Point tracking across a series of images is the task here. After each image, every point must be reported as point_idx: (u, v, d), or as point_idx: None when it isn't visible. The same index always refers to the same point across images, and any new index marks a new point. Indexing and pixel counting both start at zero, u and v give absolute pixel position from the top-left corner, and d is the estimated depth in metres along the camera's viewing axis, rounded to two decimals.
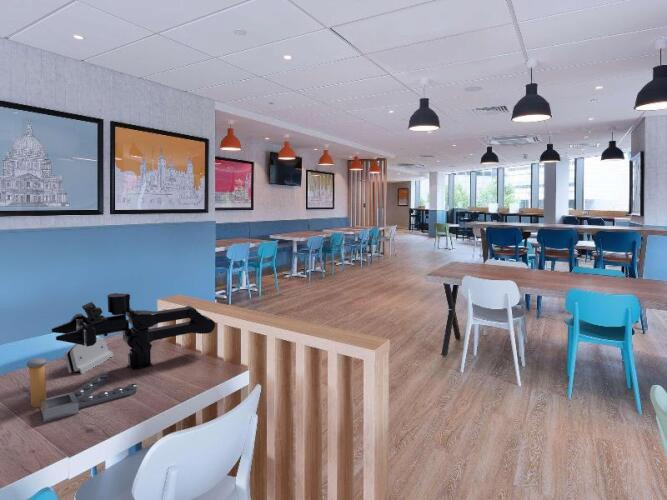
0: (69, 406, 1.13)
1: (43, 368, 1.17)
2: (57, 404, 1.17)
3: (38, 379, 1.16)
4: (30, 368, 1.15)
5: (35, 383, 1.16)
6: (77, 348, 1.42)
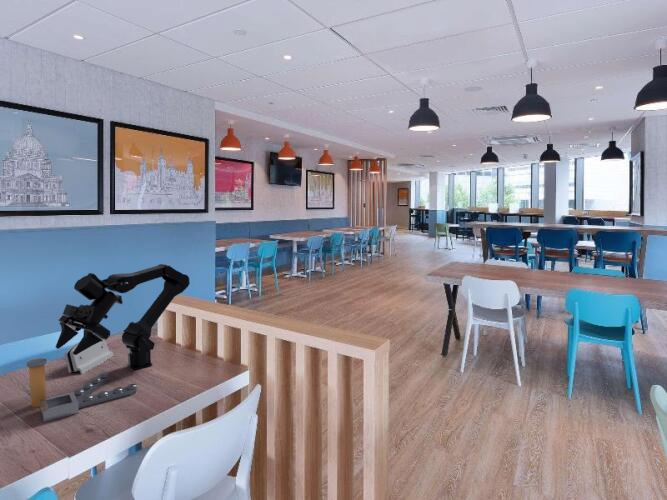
0: (69, 406, 1.13)
1: (43, 368, 1.17)
2: (57, 404, 1.17)
3: (38, 379, 1.16)
4: (30, 368, 1.15)
5: (35, 383, 1.16)
6: None
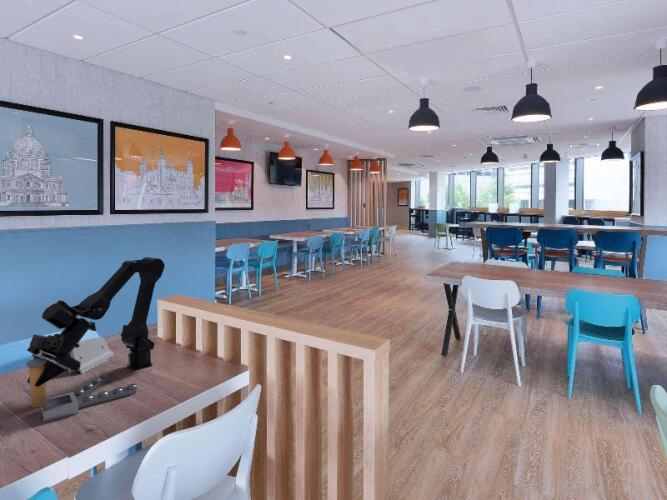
0: (69, 406, 1.13)
1: (43, 368, 1.17)
2: (57, 404, 1.17)
3: None
4: (30, 368, 1.15)
5: None
6: (77, 348, 1.42)
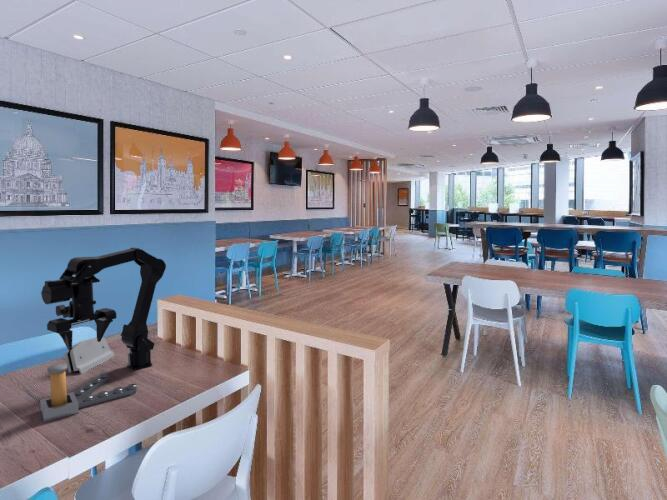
0: (69, 406, 1.13)
1: (65, 373, 1.15)
2: None
3: (61, 385, 1.13)
4: (53, 374, 1.12)
5: (59, 389, 1.13)
6: (77, 348, 1.42)
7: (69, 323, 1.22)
